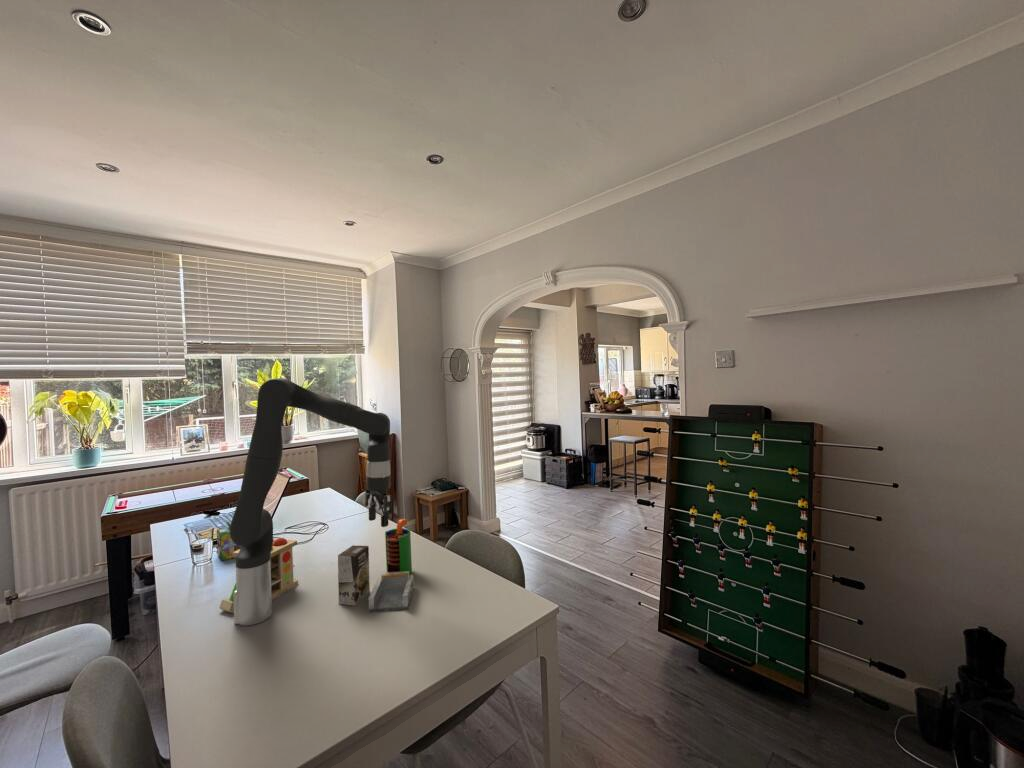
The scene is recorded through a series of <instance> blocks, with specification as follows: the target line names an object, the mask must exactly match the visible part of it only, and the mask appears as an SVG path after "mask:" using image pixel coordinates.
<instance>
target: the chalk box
mask: <svg viewBox="0 0 1024 768" xmlns="http://www.w3.org/2000/svg"><path fill="white" fill-rule="evenodd" d="M226 524H227V526H225V527H222V528H217V529H216V543H217V544H216V545H217V557H218V558H219V560H220V561H221V562H224V561H227V560H232V559H236V557H233V552H235V551H237V550H239V549H241V546H239V545H236V544H235V543H234V542H233V541H232V539H231V537H230V525H231V522H229V521H228V520H226Z"/></svg>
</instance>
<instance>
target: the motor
mask: <svg viewBox="0 0 1024 768" xmlns="http://www.w3.org/2000/svg"><path fill="white" fill-rule="evenodd" d="M407 525H408V518H407V519H406V518H401V519H399V520H397V525H396V528H391V529H389V530H386V531H385V532H384V534H385V535H384V537H385V555H386V556H385V558H386V573H388V572H403V571H409V575H413V574H412V573H413V565H412V563H413V562H412V539H411V537H412V536H411V530H410V529H408V528H403V527H404V526H407Z"/></svg>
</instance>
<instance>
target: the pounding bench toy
mask: <svg viewBox="0 0 1024 768" xmlns="http://www.w3.org/2000/svg"><path fill="white" fill-rule="evenodd" d="M297 545H298V540H296V539H286V538H284V537H277V538H275V537H273V547H272V551H271V554H270V562H271V593H272V600H274V599H276V598H278V597H279V596H281V595H283V594H284V593H286V592H288V591H289V590H291V589H292V588H294V587H296V586H297V585H298V584H299V579H295V578H294V567H295V564H294V557H293V552H294V551H293V548H294V547H295V546H297ZM239 551H240V549H239V550H237V551H235V552H233V557H235V558H236V556H237V555H238V553H239ZM235 591H236V582H235V584H234V586H233V589H232V592H231V594H230V597H229V599H226V598H225V599H224V598H223V599H222V600H221V601H220V605H219V609H220V610H221V611H224V612H227V613H230V614H234V600H233V593H234V592H235Z"/></svg>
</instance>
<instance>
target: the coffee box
mask: <svg viewBox="0 0 1024 768" xmlns="http://www.w3.org/2000/svg"><path fill="white" fill-rule="evenodd" d="M369 547H370V546H369V545H355V544H354V545H351V546H350V547H348V548H346V549H345V550H344V551H341V553H339V554H338V555H337V573H338V574H337V577H338V579H337V581H338V582H337V583H338V584H337V585H338V587H337V588H338V589H337V590H338V604H340V605H347V606H348V605H350V606H356V605H358V603H359V602H361V601H362V600H363V599H364V598H365V597H366V596H367V595H368V594H369V593H371V592H370V591H371V589H370V587H371V586H370V556H369V555H370V554H369V553H370V551H369V549H370V548H369Z"/></svg>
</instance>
